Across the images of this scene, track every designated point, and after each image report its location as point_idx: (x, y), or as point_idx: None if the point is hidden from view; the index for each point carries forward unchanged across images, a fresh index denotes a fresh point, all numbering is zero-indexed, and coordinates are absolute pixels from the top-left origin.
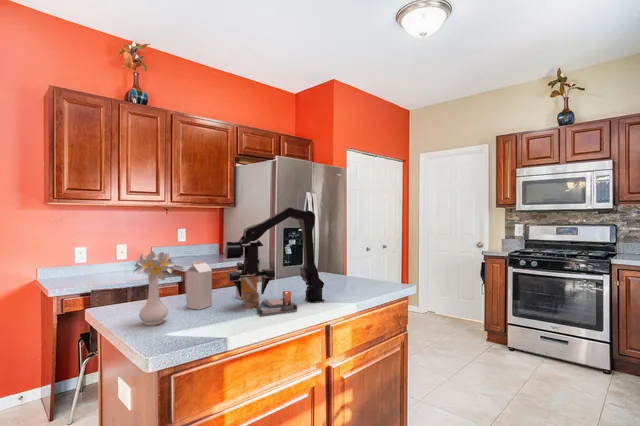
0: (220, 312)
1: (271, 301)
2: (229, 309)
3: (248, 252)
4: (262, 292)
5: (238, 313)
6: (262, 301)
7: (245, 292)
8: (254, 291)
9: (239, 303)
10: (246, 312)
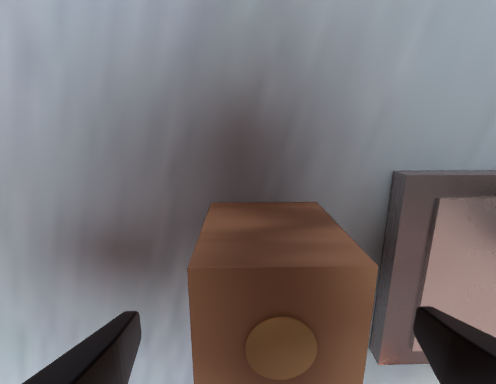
0: (6, 290)
1: (462, 249)
2: (82, 238)
3: None
4: (429, 363)
5: (134, 363)
6: (403, 181)
7: (211, 293)
8: (354, 289)
9: (202, 64)
10: (191, 363)
